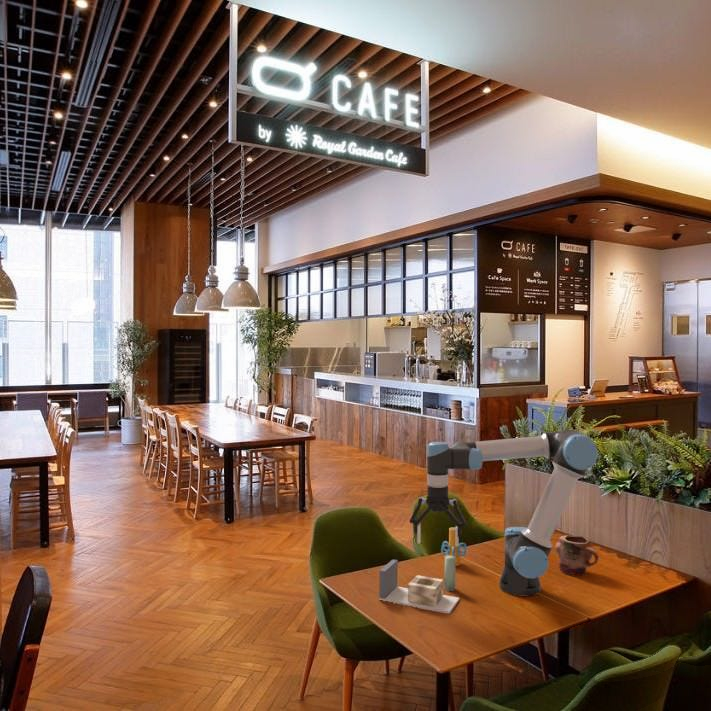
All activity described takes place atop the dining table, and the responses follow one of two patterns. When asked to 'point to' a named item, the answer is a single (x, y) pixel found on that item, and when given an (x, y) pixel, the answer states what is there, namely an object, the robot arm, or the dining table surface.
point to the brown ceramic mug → (575, 554)
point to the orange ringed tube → (453, 547)
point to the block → (425, 590)
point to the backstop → (400, 594)
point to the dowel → (450, 573)
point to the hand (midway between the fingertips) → (437, 543)
